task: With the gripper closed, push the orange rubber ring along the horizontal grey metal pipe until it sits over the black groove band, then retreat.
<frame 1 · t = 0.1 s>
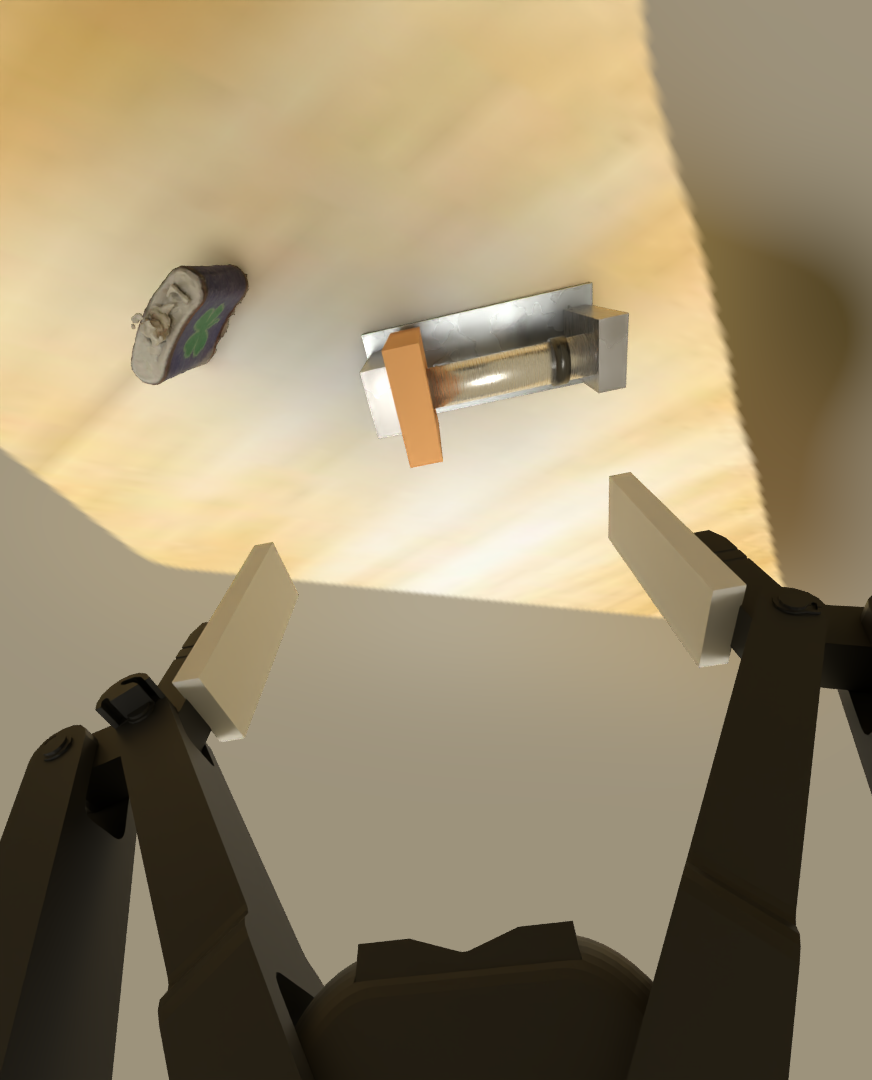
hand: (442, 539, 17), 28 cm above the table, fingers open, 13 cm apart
ring: (415, 393, 33), point 8 cm above the table, slide at 0.0 cm
pipe rail: (479, 357, 39), on the table
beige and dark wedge: (216, 315, 37), on the table
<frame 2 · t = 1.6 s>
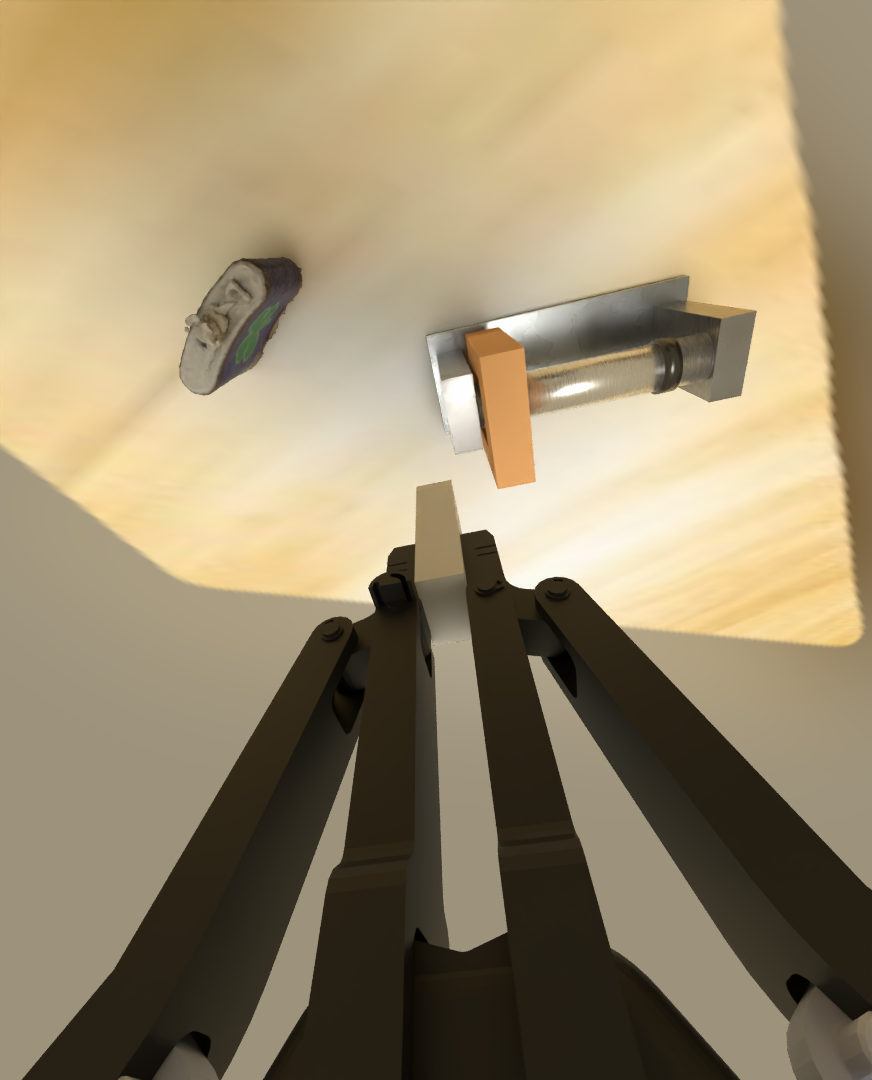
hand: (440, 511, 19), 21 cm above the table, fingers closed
ring: (498, 403, 29), point 8 cm above the table, slide at 0.0 cm
pipe rail: (554, 359, 35), on the table
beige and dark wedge: (264, 314, 33), on the table
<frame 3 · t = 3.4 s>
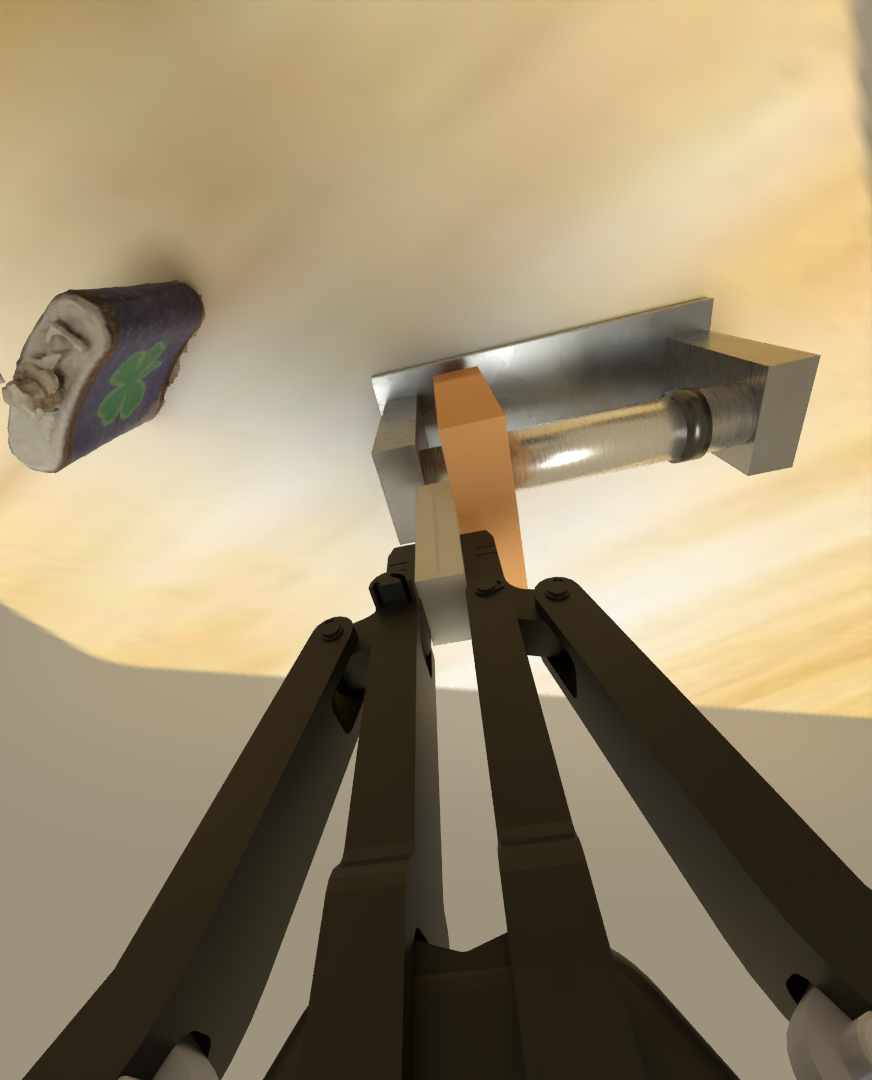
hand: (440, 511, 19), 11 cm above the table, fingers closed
ring: (476, 473, 21), point 9 cm above the table, slide at 1.0 cm, touching gripper
pipe rail: (538, 404, 28), on the table
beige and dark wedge: (161, 352, 26), on the table
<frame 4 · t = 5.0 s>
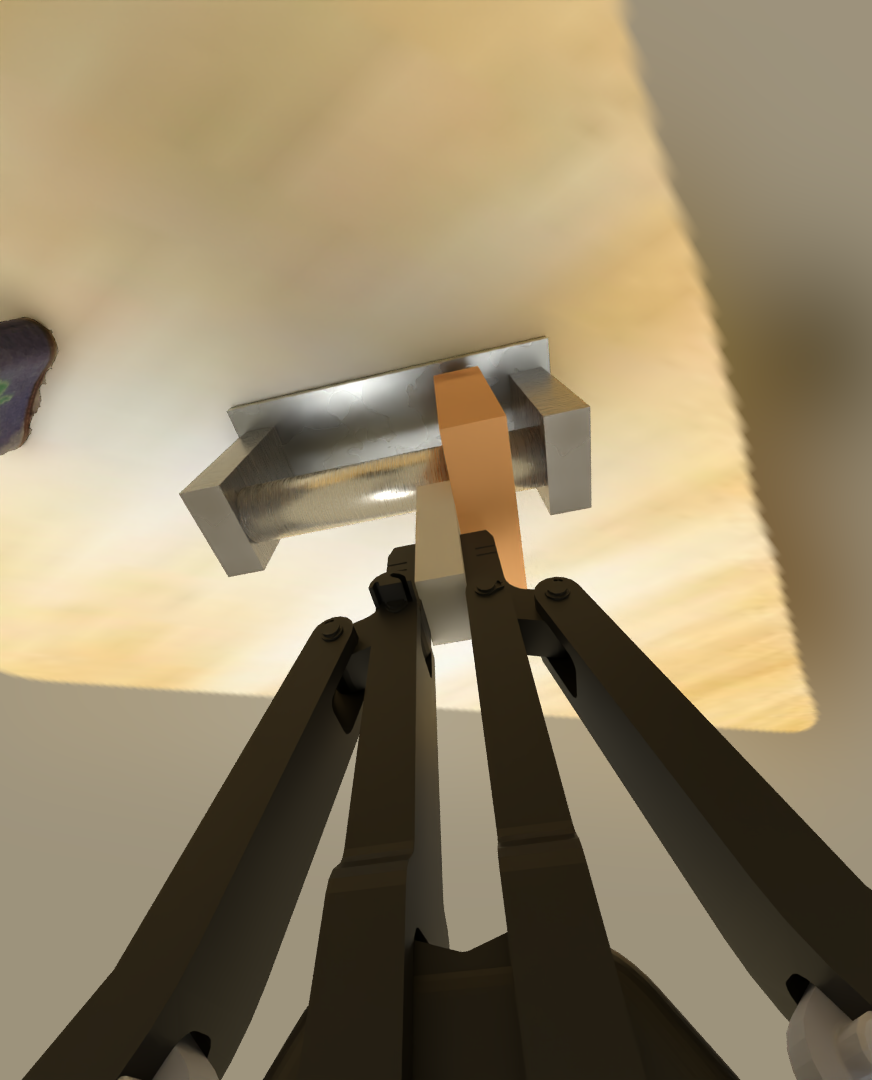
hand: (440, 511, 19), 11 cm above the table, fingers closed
ring: (476, 473, 21), point 9 cm above the table, slide at 10.3 cm, touching gripper
pipe rail: (399, 434, 28), on the table
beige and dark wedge: (21, 384, 26), on the table
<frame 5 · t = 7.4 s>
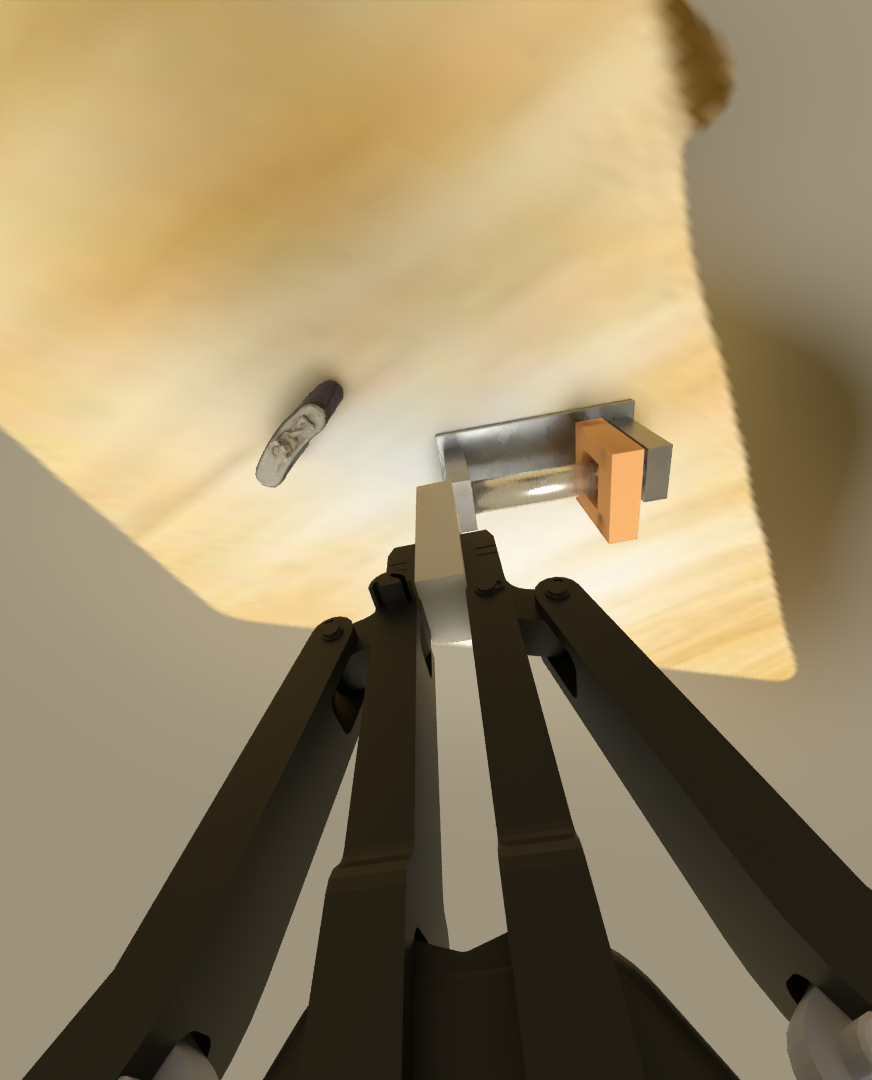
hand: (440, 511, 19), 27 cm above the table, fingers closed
ring: (604, 477, 38), point 8 cm above the table, slide at 10.4 cm
pipe rail: (534, 454, 46), on the table
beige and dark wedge: (312, 417, 43), on the table
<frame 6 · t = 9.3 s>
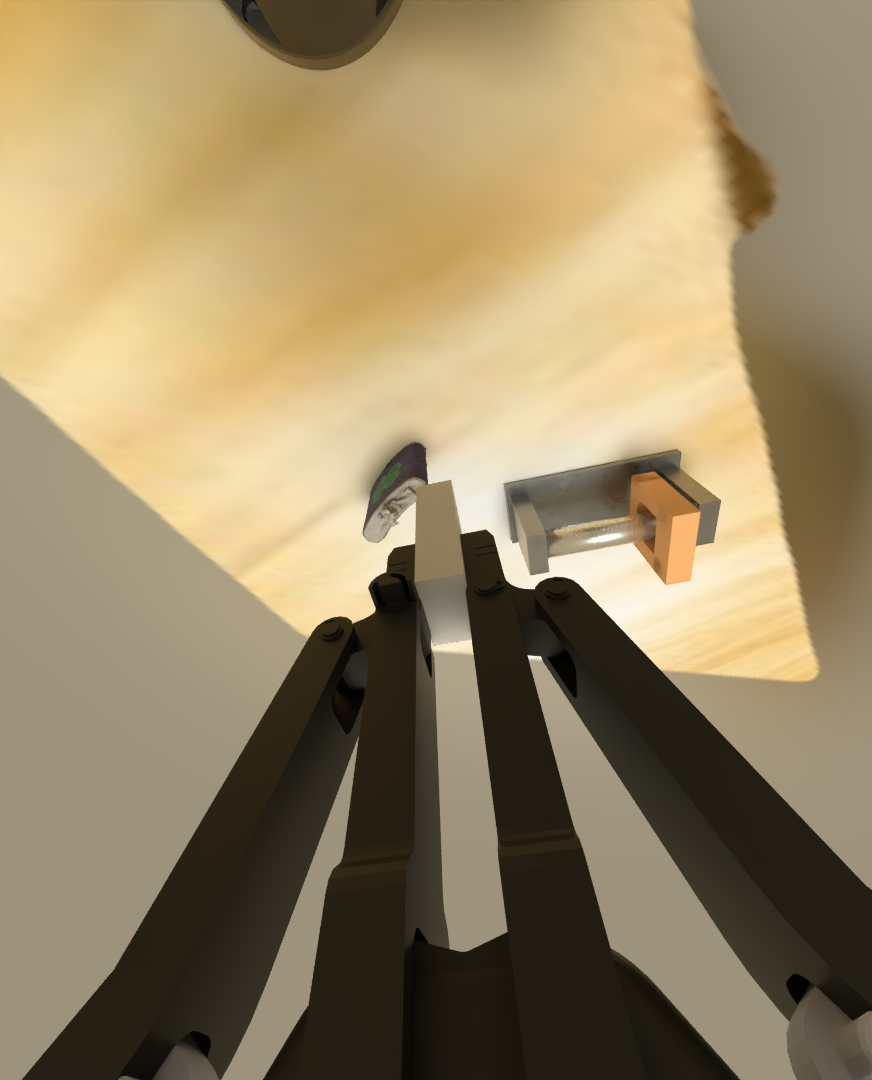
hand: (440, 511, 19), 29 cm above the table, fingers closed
ring: (659, 526, 44), point 8 cm above the table, slide at 10.4 cm
pipe rail: (589, 497, 52), on the table
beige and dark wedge: (397, 472, 49), on the table
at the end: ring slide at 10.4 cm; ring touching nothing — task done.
